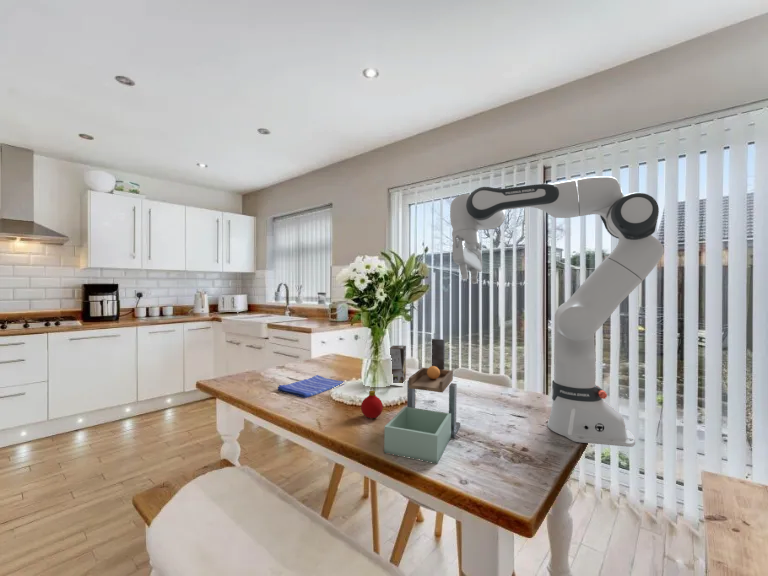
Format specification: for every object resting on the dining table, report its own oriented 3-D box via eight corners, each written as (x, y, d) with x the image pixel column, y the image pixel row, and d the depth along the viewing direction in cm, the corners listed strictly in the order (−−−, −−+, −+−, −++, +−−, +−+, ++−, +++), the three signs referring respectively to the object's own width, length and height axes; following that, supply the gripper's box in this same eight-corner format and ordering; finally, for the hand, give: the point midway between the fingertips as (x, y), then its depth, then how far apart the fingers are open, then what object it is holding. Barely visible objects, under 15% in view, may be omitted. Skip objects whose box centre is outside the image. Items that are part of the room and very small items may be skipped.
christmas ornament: (373, 423, 111) (373, 392, 111) (356, 418, 115) (356, 387, 115) (387, 417, 117) (387, 387, 116) (370, 412, 121) (370, 383, 121)
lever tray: (453, 379, 114) (453, 340, 113) (442, 392, 100) (442, 348, 99) (423, 375, 117) (423, 338, 117) (408, 388, 103) (409, 345, 103)
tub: (450, 437, 101) (451, 413, 101) (437, 464, 87) (437, 435, 86) (404, 429, 107) (405, 406, 107) (384, 453, 92) (384, 426, 92)
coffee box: (403, 387, 150) (403, 349, 150) (388, 386, 151) (388, 348, 151) (406, 381, 159) (406, 345, 159) (392, 380, 160) (392, 344, 160)
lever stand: (460, 426, 109) (460, 381, 109) (454, 438, 101) (454, 389, 101) (411, 418, 115) (411, 375, 115) (401, 429, 107) (402, 383, 107)
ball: (441, 378, 111) (441, 365, 111) (438, 381, 107) (438, 368, 107) (428, 376, 112) (429, 364, 112) (425, 379, 109) (425, 366, 109)
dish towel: (275, 392, 144) (275, 385, 144) (317, 379, 163) (317, 372, 163) (305, 400, 134) (305, 392, 134) (345, 385, 154) (345, 378, 154)
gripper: (464, 231, 110) (469, 274, 108) (483, 246, 128) (488, 284, 125) (445, 235, 114) (449, 277, 111) (466, 250, 131) (470, 286, 128)
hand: (470, 281), depth 118 cm, fingers open, 8 cm apart
